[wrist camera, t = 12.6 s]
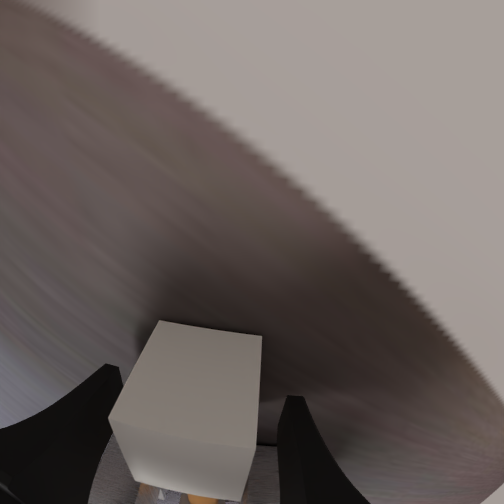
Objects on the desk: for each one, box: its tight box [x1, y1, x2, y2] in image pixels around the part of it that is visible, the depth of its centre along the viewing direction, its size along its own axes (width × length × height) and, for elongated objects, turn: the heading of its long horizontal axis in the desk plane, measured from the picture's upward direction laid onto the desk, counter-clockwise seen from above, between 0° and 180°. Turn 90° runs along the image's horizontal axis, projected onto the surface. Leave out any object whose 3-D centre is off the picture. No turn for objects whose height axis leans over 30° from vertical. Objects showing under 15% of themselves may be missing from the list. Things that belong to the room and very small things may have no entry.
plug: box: [108, 320, 262, 504], centre depth 12 cm, size 20×4×5 cm, turn 173°
